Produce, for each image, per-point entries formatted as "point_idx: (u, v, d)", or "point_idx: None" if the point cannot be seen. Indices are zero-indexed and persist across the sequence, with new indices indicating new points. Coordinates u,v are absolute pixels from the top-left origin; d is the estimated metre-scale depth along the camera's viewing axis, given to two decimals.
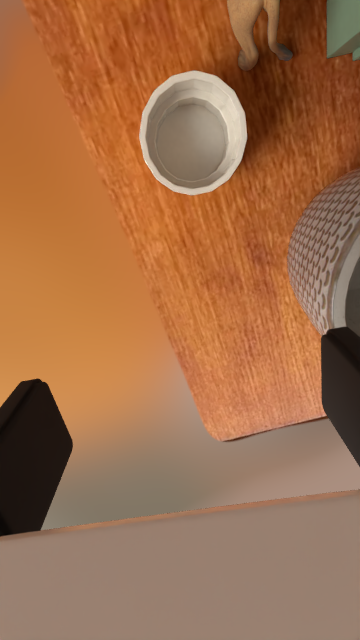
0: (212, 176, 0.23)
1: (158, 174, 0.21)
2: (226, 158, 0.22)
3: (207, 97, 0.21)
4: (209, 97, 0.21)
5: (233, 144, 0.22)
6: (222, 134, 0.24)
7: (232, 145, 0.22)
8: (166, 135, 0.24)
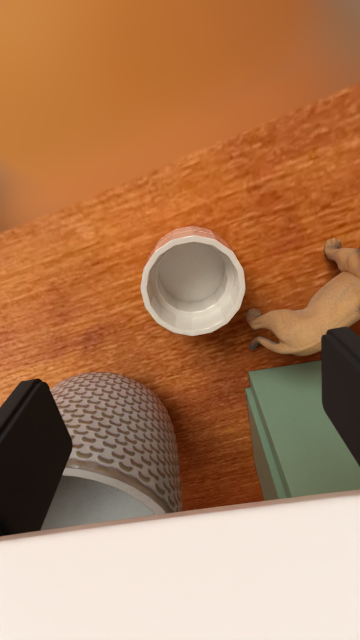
0: (161, 299, 0.23)
1: (159, 254, 0.20)
2: (177, 311, 0.24)
3: (226, 292, 0.23)
4: (226, 294, 0.23)
5: (188, 316, 0.24)
6: (199, 299, 0.26)
7: (187, 315, 0.24)
8: (199, 247, 0.24)
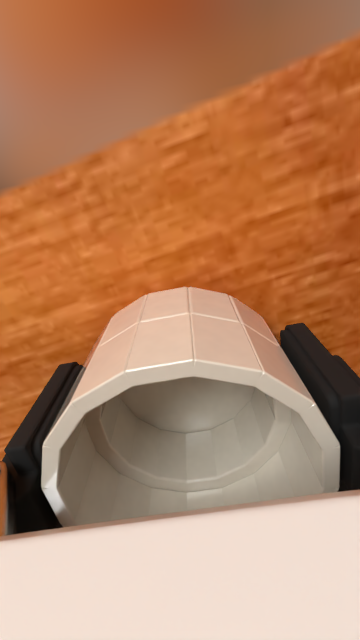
0: (116, 458, 0.10)
1: (84, 409, 0.06)
2: (154, 479, 0.10)
3: (270, 445, 0.10)
4: (269, 448, 0.10)
5: (181, 489, 0.10)
6: (203, 428, 0.12)
7: (179, 487, 0.10)
8: None
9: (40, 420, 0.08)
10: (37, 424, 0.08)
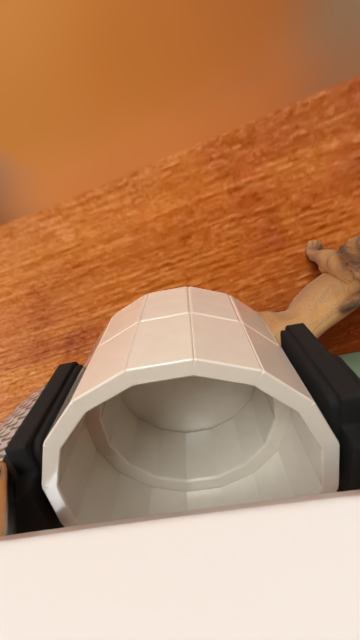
0: (116, 458, 0.10)
1: (84, 408, 0.06)
2: (154, 478, 0.10)
3: (270, 444, 0.10)
4: (269, 448, 0.10)
5: (181, 488, 0.10)
6: (203, 428, 0.12)
7: (179, 487, 0.10)
8: None
9: (40, 420, 0.08)
10: (37, 424, 0.08)
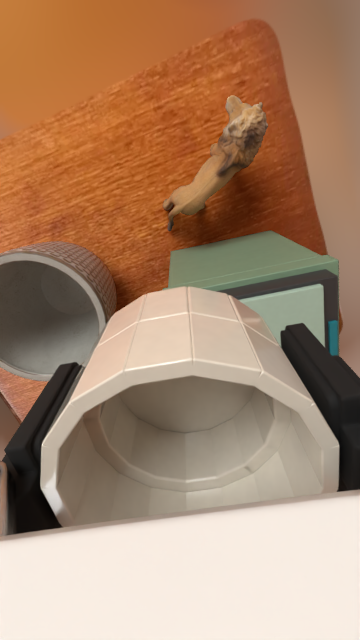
0: (115, 458, 0.10)
1: (83, 409, 0.06)
2: (153, 479, 0.10)
3: (269, 444, 0.10)
4: (269, 448, 0.10)
5: (180, 489, 0.10)
6: (202, 428, 0.12)
7: (178, 487, 0.10)
8: None
9: (40, 420, 0.08)
10: (37, 424, 0.08)
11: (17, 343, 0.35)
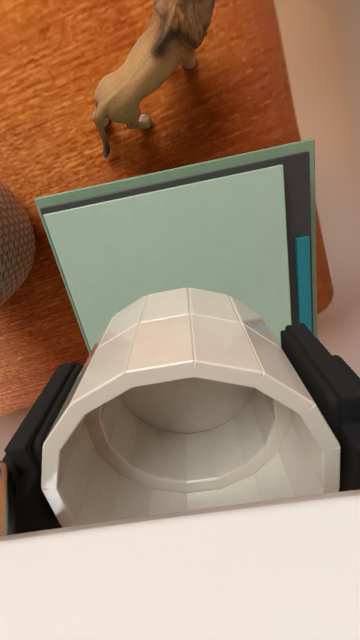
0: (116, 459, 0.10)
1: (84, 410, 0.06)
2: (154, 480, 0.10)
3: (270, 445, 0.10)
4: (270, 449, 0.10)
5: (181, 490, 0.10)
6: (203, 429, 0.12)
7: (179, 488, 0.10)
8: None
9: (40, 420, 0.08)
10: (37, 424, 0.08)
11: None
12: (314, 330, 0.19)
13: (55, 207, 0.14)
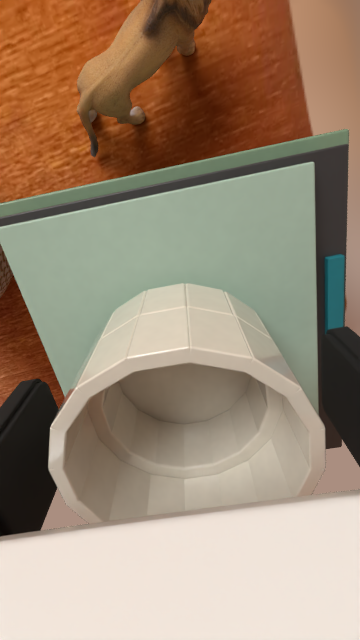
0: (117, 446, 0.10)
1: (89, 394, 0.07)
2: (153, 466, 0.11)
3: (263, 432, 0.10)
4: (262, 436, 0.10)
5: (179, 475, 0.11)
6: (200, 419, 0.13)
7: (177, 474, 0.11)
8: None
9: None
10: None
11: None
12: None
13: (13, 218, 0.11)
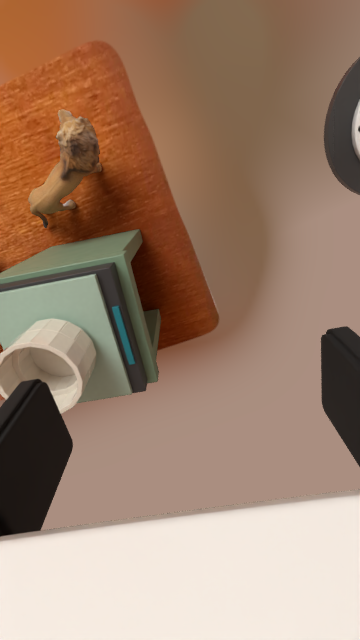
0: None
1: (3, 356, 0.23)
2: None
3: None
4: None
5: (52, 394, 0.28)
6: (69, 374, 0.29)
7: None
8: None
9: None
10: None
11: None
12: (147, 352, 0.32)
13: None
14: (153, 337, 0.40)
